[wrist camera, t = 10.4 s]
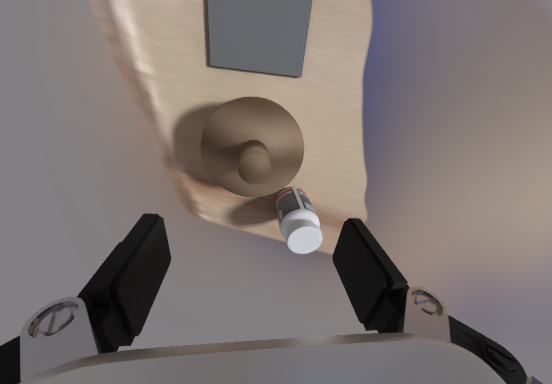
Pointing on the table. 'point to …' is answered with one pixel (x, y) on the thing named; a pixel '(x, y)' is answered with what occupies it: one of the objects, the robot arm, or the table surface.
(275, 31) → the mat
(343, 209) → the table surface
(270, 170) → the lid
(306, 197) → the pill bottle
